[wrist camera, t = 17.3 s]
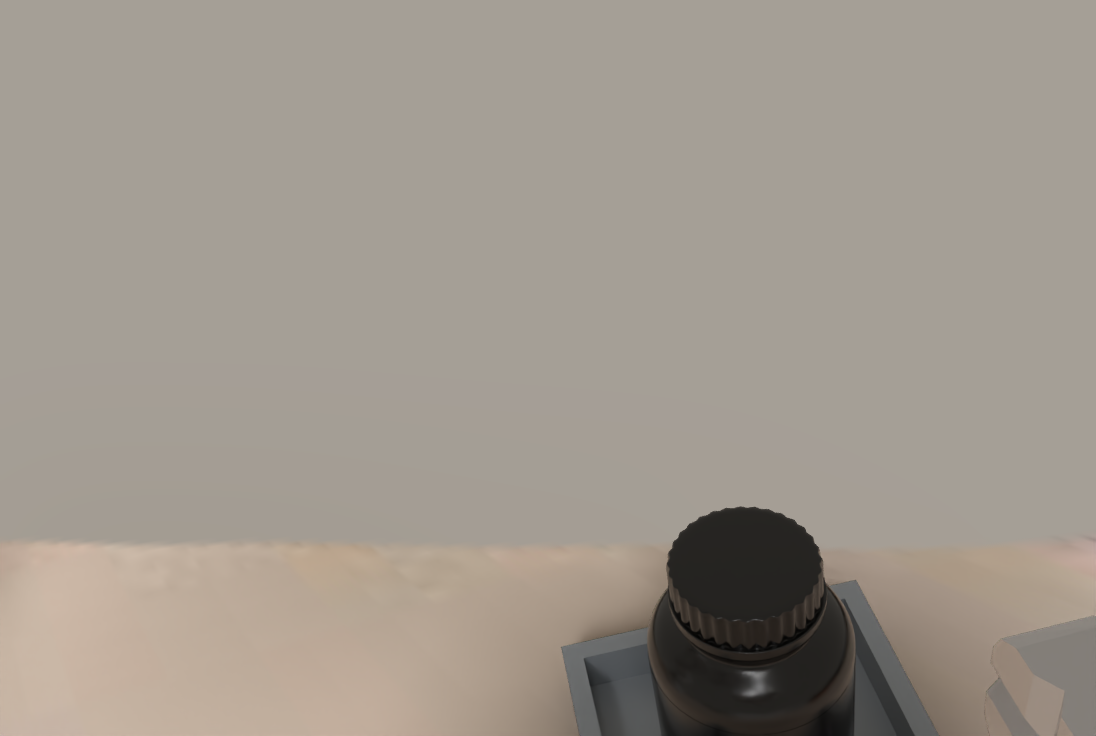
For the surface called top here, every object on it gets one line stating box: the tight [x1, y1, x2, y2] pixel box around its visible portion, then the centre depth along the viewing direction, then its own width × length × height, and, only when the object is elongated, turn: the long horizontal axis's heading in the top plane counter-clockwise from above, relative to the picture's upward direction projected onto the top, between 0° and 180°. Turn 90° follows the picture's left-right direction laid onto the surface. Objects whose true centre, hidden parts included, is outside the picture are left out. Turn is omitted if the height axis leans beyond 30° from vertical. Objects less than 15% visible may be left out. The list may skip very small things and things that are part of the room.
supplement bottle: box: [647, 507, 856, 736], centre depth 36 cm, size 7×7×12 cm
